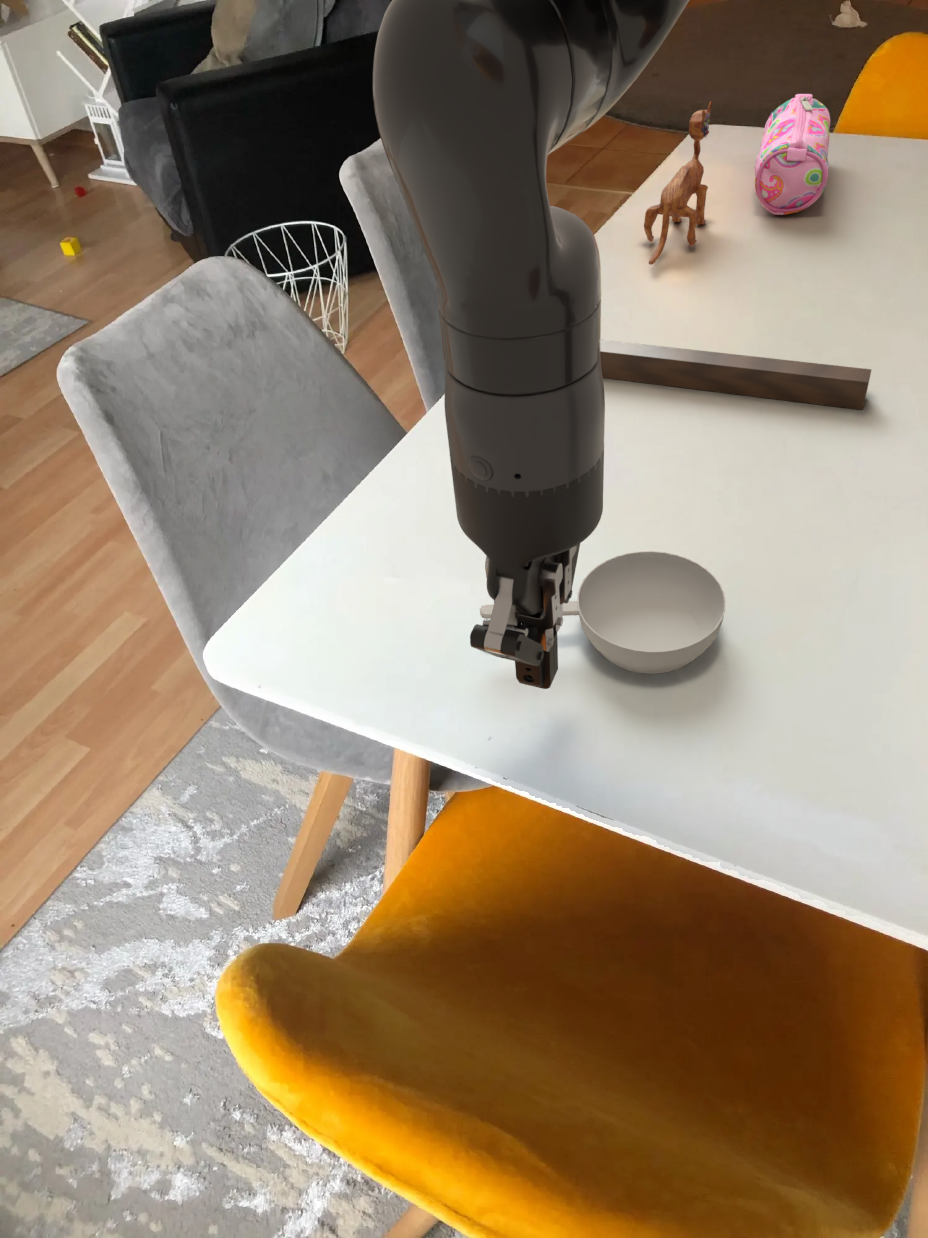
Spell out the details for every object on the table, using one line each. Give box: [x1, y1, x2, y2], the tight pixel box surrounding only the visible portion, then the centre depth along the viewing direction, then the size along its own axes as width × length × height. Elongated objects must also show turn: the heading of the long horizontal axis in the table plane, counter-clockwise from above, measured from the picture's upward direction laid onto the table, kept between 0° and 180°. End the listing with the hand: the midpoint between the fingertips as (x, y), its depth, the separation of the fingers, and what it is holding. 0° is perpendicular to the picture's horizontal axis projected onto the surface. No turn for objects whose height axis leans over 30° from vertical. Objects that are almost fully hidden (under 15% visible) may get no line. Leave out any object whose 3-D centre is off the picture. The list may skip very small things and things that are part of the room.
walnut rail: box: [600, 339, 872, 411], centre depth 96 cm, size 30×2×3 cm, turn 68°
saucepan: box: [479, 550, 727, 675], centre depth 72 cm, size 11×18×4 cm, turn 91°
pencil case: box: [754, 93, 831, 216], centre depth 126 cm, size 21×9×9 cm, turn 163°
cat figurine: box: [643, 100, 713, 265], centre depth 116 cm, size 18×7×14 cm, turn 153°
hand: (537, 677), depth 58 cm, fingers closed
